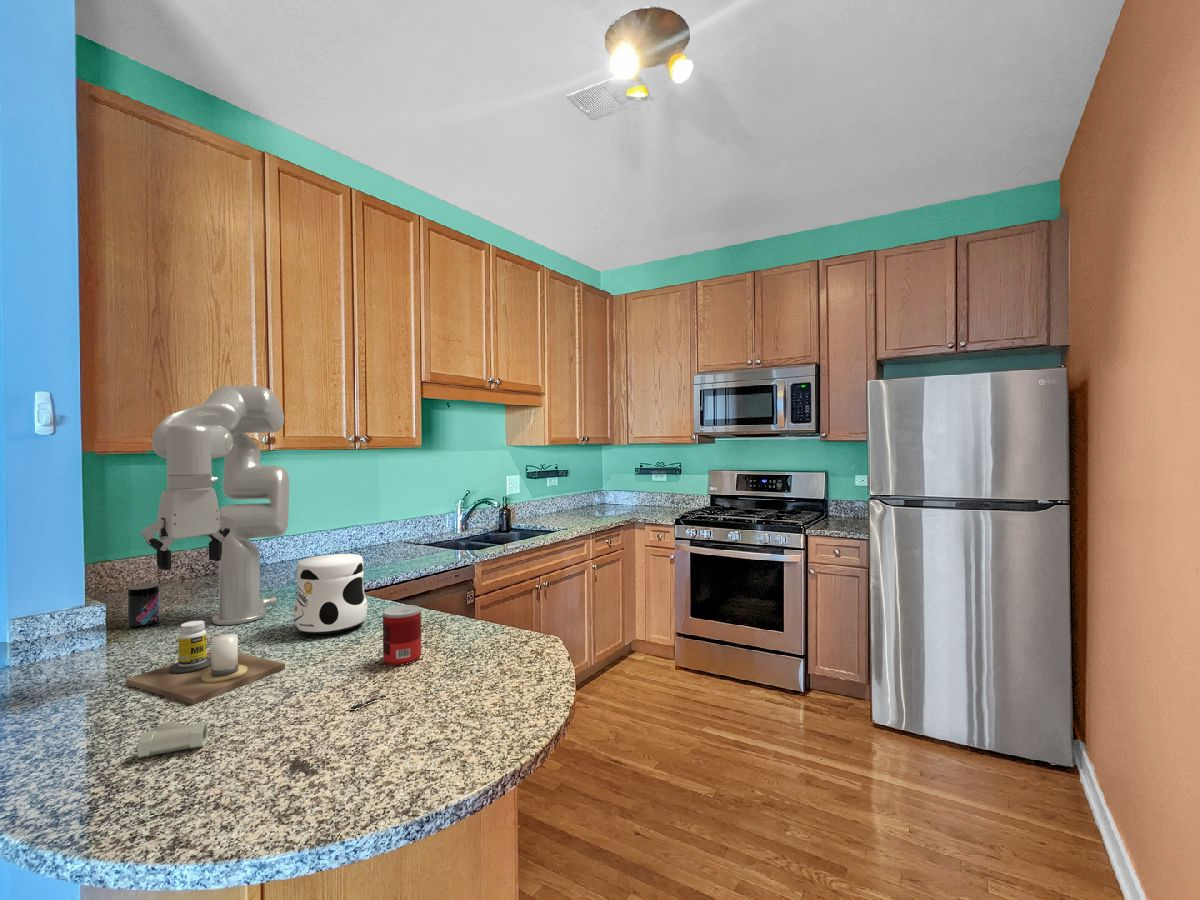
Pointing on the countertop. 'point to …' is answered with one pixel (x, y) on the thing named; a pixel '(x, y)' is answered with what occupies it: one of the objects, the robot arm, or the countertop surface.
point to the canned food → (401, 634)
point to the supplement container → (143, 605)
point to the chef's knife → (366, 702)
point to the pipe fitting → (172, 738)
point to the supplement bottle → (192, 644)
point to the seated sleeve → (224, 655)
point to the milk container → (330, 594)
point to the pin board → (202, 678)
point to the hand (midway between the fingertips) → (190, 564)
